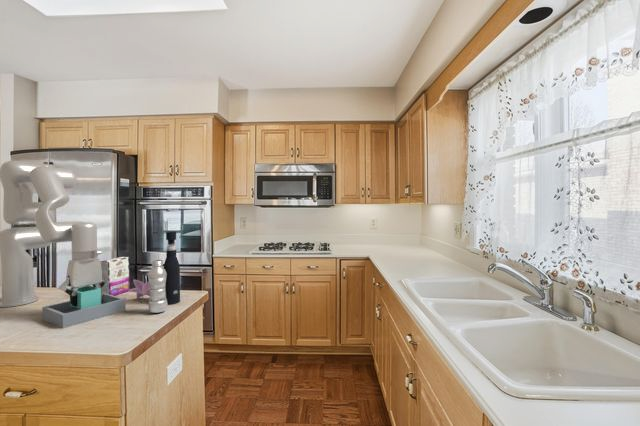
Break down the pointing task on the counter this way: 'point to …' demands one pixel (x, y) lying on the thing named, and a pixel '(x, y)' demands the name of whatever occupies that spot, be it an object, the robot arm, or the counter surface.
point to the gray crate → (82, 311)
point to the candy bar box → (116, 275)
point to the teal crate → (88, 297)
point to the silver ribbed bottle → (157, 287)
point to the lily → (141, 289)
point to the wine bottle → (172, 271)
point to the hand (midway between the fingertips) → (85, 302)
